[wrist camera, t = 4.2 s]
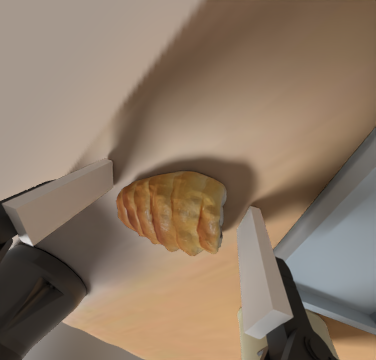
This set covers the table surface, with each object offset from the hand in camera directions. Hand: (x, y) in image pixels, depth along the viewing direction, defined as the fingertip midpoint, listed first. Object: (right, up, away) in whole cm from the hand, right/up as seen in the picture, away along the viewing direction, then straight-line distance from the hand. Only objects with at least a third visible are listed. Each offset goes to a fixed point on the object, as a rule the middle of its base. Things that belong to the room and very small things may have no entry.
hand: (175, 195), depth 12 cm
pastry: (0, -1, +1) cm, 1 cm away
